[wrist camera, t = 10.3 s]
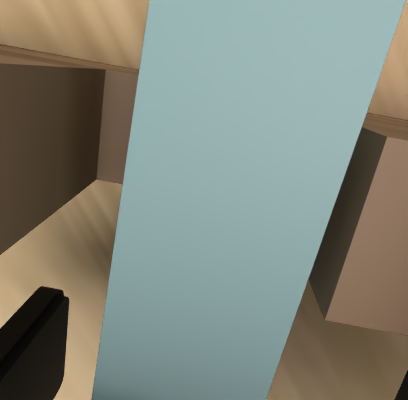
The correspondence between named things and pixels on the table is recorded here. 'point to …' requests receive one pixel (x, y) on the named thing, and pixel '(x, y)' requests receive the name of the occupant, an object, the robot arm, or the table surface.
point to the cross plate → (231, 187)
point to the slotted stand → (116, 161)
